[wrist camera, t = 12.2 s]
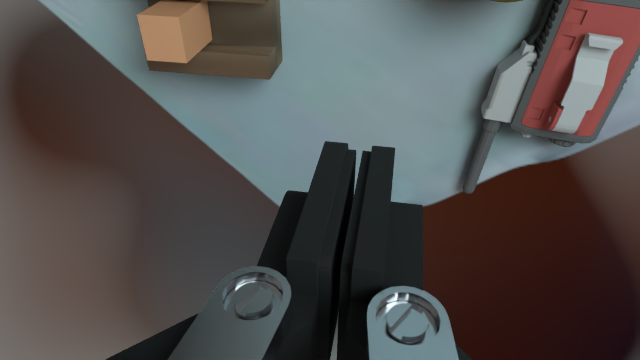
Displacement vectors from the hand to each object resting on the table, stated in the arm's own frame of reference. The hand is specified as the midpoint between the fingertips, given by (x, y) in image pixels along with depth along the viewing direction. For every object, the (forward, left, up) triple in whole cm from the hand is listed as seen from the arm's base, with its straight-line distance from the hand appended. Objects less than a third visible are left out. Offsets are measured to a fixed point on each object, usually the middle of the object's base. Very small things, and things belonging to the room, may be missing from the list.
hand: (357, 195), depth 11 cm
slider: (+4, -16, -25) cm, 30 cm away
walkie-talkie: (+9, +12, -28) cm, 32 cm away
